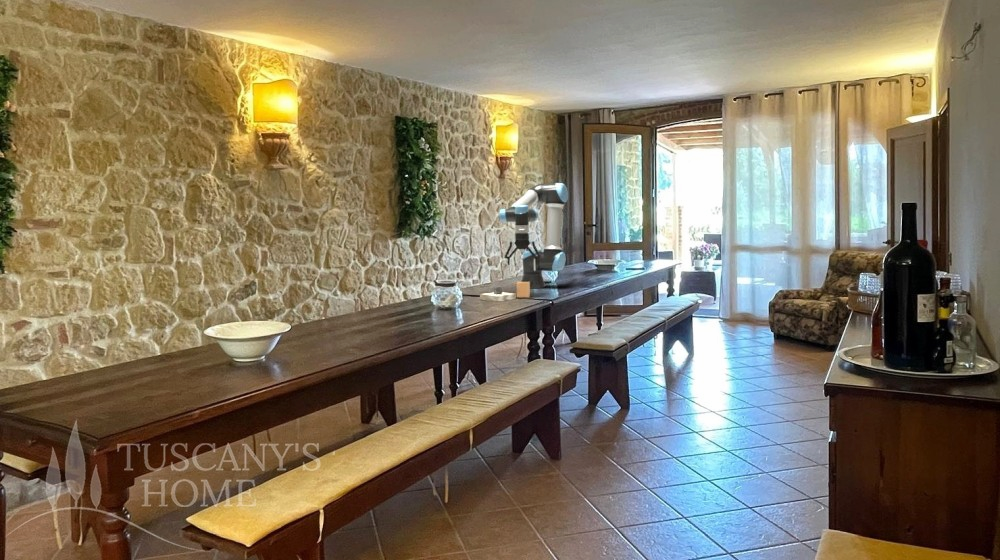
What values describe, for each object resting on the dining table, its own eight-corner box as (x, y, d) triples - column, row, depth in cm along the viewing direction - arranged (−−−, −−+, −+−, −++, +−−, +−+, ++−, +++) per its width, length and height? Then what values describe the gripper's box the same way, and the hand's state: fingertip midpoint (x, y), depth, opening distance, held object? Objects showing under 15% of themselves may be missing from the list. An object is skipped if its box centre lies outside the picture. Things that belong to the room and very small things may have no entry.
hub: (499, 296, 396) (499, 284, 395) (515, 299, 385) (515, 286, 384) (480, 299, 387) (479, 287, 386) (496, 301, 376) (496, 289, 376)
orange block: (517, 295, 399) (517, 281, 398) (529, 295, 399) (529, 281, 398) (516, 297, 392) (516, 283, 391) (529, 297, 392) (528, 283, 391)
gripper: (499, 233, 389) (500, 271, 391) (544, 232, 387) (544, 270, 389) (500, 232, 396) (501, 270, 398) (544, 232, 394) (544, 269, 396)
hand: (522, 270), depth 394 cm, fingers open, 13 cm apart
